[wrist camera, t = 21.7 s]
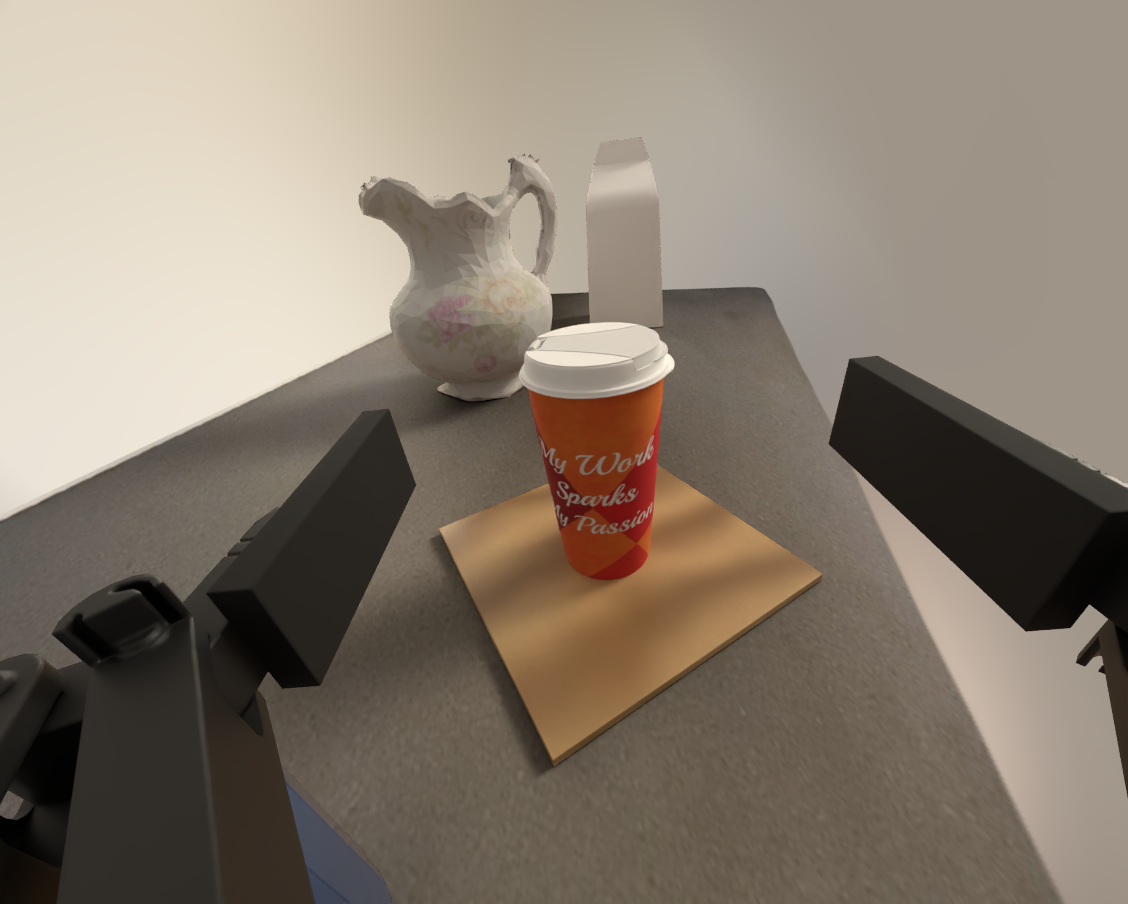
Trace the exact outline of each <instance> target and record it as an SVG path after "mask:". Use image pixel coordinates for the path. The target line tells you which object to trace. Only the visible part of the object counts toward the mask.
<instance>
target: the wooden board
mask: <svg viewBox="0 0 1128 904" xmlns="http://www.w3.org/2000/svg"><path fill="white" fill-rule="evenodd" d="M439 531H440V534H441V536H442V538H443V540H444V542H445V545H446V547H447V549H448V551H449V553H450V555H451V557H452V559H453V561H454V563H455V565H456V567H457V569H458V571H459V573H460V575H461V577H462V579H463V581H464V583H465V585H466V588H467V590H468V592H469V594H470V596H471V598H472V600H473V602H474V604H475V606H476V608H477V610H478V612H479V614H480V616H481V618H482V620H483V622H484V624H485V626H486V629H487V631H488V633H489V635H490V637H491V639H492V641H493V643H494V645H495V647H496V649H497V651H498V653H499V655H500V657H501V659H502V661H503V663H504V665H505V667H506V670H507V672H508V674H509V676H510V678H511V680H512V682H513V684H514V686H515V688H516V690H517V692H518V694H519V696H520V698H521V700H522V702H523V704H524V706H525V708H526V710H527V713H528V715H529V717H530V719H531V721H532V723H533V725H534V727H535V729H536V731H537V733H538V735H539V737H540V739H541V741H542V743H543V745H544V747H545V749H546V751H547V754H548V756H549V758H550V760H551V762H552V764H553V766H556V765H557V764H558V763H560V762H561V761H563V760H564V759H566V758H567V757H569V756H570V755H571V754H573V753H574V752H576V751H577V750H579V749H580V748H581V747H583V746H584V745H586V744H587V743H589V742H590V741H591V740H593V739H594V738H596V737H597V736H599V735H600V734H602V733H603V732H604V731H606V730H607V729H609V728H610V727H612V726H613V725H614V724H616V723H617V722H619V721H620V720H622V719H623V718H624V717H626V716H627V715H629V714H630V713H632V712H633V711H634V710H636V709H637V708H639V707H640V706H642V705H643V704H645V703H646V702H647V701H649V700H650V699H652V698H653V697H655V696H656V695H657V694H659V693H660V692H662V691H663V690H665V689H666V688H667V687H669V686H670V685H672V684H673V683H675V682H676V681H677V680H679V679H680V678H682V677H683V676H685V675H686V674H688V673H689V672H690V671H692V670H693V669H695V668H696V667H698V666H699V665H700V664H702V663H703V662H705V661H706V660H708V659H709V658H710V657H712V656H713V655H715V654H716V653H718V652H719V651H721V650H722V649H723V648H725V647H726V646H728V645H729V644H731V643H732V642H733V641H735V640H736V639H738V638H739V637H741V636H742V635H743V634H745V633H746V632H748V631H749V630H751V629H752V628H753V627H755V626H756V625H758V624H759V623H761V622H762V621H764V620H765V619H766V618H768V617H769V616H771V615H772V614H774V613H775V612H776V611H778V610H779V609H781V608H782V607H784V606H785V605H786V604H788V603H789V602H791V601H792V600H794V599H795V598H796V597H798V596H799V595H801V594H802V593H804V592H805V591H807V590H808V589H809V588H811V587H812V586H814V585H815V584H817V583H818V582H819V581H821V578H822V573H821V572H819V571H817V570H816V569H814V568H813V567H811V566H810V565H808V564H807V563H805V562H804V561H802V560H801V559H799V558H798V557H796V556H795V555H793V554H792V553H790V552H789V551H787V550H786V549H784V548H783V547H781V546H780V545H778V544H777V543H775V542H774V541H772V540H771V539H769V538H768V537H766V536H765V535H763V534H762V533H760V532H759V531H757V530H755V529H754V528H752V527H751V526H749V525H748V524H746V523H745V522H743V521H742V520H740V519H739V518H737V517H736V516H734V515H733V514H731V513H730V512H728V511H727V510H725V509H724V508H722V507H721V506H719V505H718V504H716V503H715V502H713V501H712V500H710V499H709V498H707V497H706V496H704V495H703V494H701V493H700V492H698V491H697V490H695V489H694V488H692V487H690V486H689V485H687V484H686V483H684V482H683V481H681V480H680V479H678V478H677V477H675V476H674V475H672V474H671V473H669V472H668V471H666V470H665V469H663V468H662V467H660V466H659V465H657V473H656V485H655V497H654V509H653V520H652V531H651V540H650V548H649V553H648V557H647V559H646V561H645V563H644V564H643V565H642V567H641V568H639V569H638V570H637V571H636V572H634V573H632V574H631V575H629V576H626V577H623V578H620V579H614V580H599V579H593V578H590V577H587V576H585V575H582V574H581V573H579V572H578V571H576V570H575V569H574V568H573V567H572V566H571V565H570V563H569V561H568V559H567V557H566V554H565V551H564V547H563V543H562V539H561V535H560V531H559V526H558V522H557V518H556V513H555V509H554V504H553V500H552V495H551V491H550V486H549V483H548V484H546V485H543V486H541V487H539V488H536V489H534V490H531V491H529V492H526V493H524V494H522V495H519V496H517V497H514V498H512V499H510V500H507V501H505V502H502V503H500V504H498V505H495V506H493V507H490V508H488V509H485V510H483V511H481V512H478V513H476V514H473V515H471V516H469V517H466V518H464V519H461V520H459V521H456V522H454V523H452V524H449V525H447V526H444V527H442V528H440V529H439Z"/></svg>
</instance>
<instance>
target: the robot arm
mask: <svg viewBox="0 0 1128 904" xmlns="http://www.w3.org/2000/svg"><path fill="white" fill-rule="evenodd" d="M829 445H830V446H831V447H832V448H833V449H835V450H836V451H837V452H838V453H839V454H840V455H841V456H842V457H843V458H844V459H845V460H846V461H847V462H848V463H849V464H850V465H851V466H852V467H853V468H854V469H856V470H857V471H858V472H859V473H860V474H861V475H862V476H863V477H864V478H865V479H866V480H867V481H868V482H869V483H870V484H871V485H872V486H874V488H875V489H877V490H878V491H879V492H880V493H881V494H882V495H883V496H884V497H885V498H886V499H887V500H888V501H889V502H890V503H891V504H892V505H893V506H895V507H896V508H897V509H898V510H899V511H900V512H901V513H902V514H903V515H904V516H905V517H906V518H907V519H908V520H909V521H910V522H911V523H912V524H914V526H915V527H917V528H918V529H919V530H920V531H921V532H922V533H923V534H924V535H925V536H926V537H927V538H928V539H929V540H930V541H931V542H932V543H933V544H934V545H935V546H936V547H937V548H939V549H940V550H941V551H942V552H943V553H944V554H945V555H946V556H947V557H948V558H949V559H950V560H951V561H952V562H953V563H954V564H956V565H957V567H958V568H960V569H961V570H962V571H963V572H964V573H965V574H966V575H967V576H968V577H969V578H970V579H971V580H972V581H973V582H974V583H975V584H976V585H977V586H979V588H981V589H982V590H983V591H984V592H985V593H986V594H987V595H988V596H989V597H990V598H991V599H992V600H993V601H994V602H995V603H996V604H997V605H999V607H1001V608H1002V609H1003V610H1004V611H1005V612H1006V613H1007V614H1008V615H1009V616H1010V617H1011V618H1012V619H1013V620H1014V621H1015V622H1016V623H1017V624H1018V625H1019V626H1020V627H1022V628H1023V629H1024V630H1025V631H1038V630H1051V629H1064V628H1071V627H1072V625H1073V624H1074V623H1075V621H1076V620H1077V619H1078V618H1079V617H1080V615H1081V614H1082V613H1083V612H1084V610H1085V609H1086V608H1087V606H1088V605H1089V604H1090V605H1091V606H1092V607H1094V608H1095V609H1096V610H1098V611H1099V612H1100V613H1102V614H1103V615H1104V616H1105V617H1107V618H1108V620H1107V621H1106V623H1105V624H1104V625H1103V626H1102V627H1101V628H1100V630H1099V631H1098V632H1097V633H1096V634H1095V636H1094V637H1093V638H1092V639H1091V640H1090V641H1089V643H1088V644H1087V645H1086V646H1085V647H1084V649H1083V650H1082V651H1081V652H1080V653H1079V655H1078V657H1077V661H1076V663H1078V664H1080V665H1083V666H1086V665H1087V664H1088V663H1089V661H1090V660H1091V659H1092V658H1093V657H1096V656H1102V658H1103V664H1104V665H1103V666H1102V667H1101V668H1100V669H1099V672H1101V673H1104V674H1105V675H1106V680H1107V686H1108V691H1109V697H1110V702H1111V708H1112V713H1113V719H1114V724H1115V730H1116V735H1117V741H1118V746H1119V752H1120V757H1121V763H1122V768H1123V774H1124V779H1125V785H1126V790H1127V796H1128V484H1126V483H1124V482H1122V481H1120V480H1118V479H1116V478H1114V477H1112V476H1110V475H1109V474H1107V473H1105V474H1101V472H1100V470H1099V469H1097V468H1095V467H1093V466H1091V465H1089V464H1088V463H1086V462H1084V461H1078V460H1077V459H1078V458H1076V457H1074V456H1072V455H1070V454H1068V453H1067V452H1065V451H1063V450H1061V449H1059V448H1057V447H1055V446H1053V445H1051V444H1049V443H1045V442H1043V441H1040V440H1037V439H1034V438H1032V437H1030V436H1028V435H1026V434H1024V433H1023V432H1021V431H1019V430H1017V429H1015V428H1013V427H1011V426H1009V425H1007V424H1005V423H1004V422H1002V421H1000V420H997V419H996V418H994V417H992V416H990V415H989V414H987V413H985V412H983V411H981V410H979V409H977V408H975V407H973V406H972V405H970V404H968V403H966V402H964V401H962V400H960V399H958V398H956V397H954V396H953V395H951V394H949V393H947V392H945V391H943V390H941V389H939V388H938V387H936V386H934V385H932V384H930V383H928V382H926V381H924V380H922V379H921V378H918V377H917V376H915V375H913V374H911V373H909V372H907V371H905V370H904V369H902V368H900V367H898V366H896V365H894V364H892V363H890V362H888V361H887V360H885V359H883V358H881V357H879V356H872V357H864V358H853V359H849V363H848V367H847V371H846V375H845V379H844V383H843V387H842V392H841V395H840V400H839V404H838V408H837V412H836V416H835V420H834V424H833V428H832V432H831V436H830V441H829ZM415 486H416V483H415V481H414V478H413V475H412V472H411V470H410V467H409V464H408V461H407V458H406V456H405V453H404V450H403V447H402V445H401V442H400V439H399V436H398V433H397V431H396V428H395V425H394V422H393V420H392V417H391V414H390V411H389V409H383V410H374V411H364V412H362V414H361V415H360V416H359V417H358V418H357V419H356V421H355V422H354V423H353V424H352V425H351V426H350V427H349V429H348V430H347V431H346V432H345V433H344V434H343V436H342V437H341V438H340V439H339V440H338V441H337V442H336V444H335V445H334V446H333V447H332V448H331V449H330V451H329V452H328V453H327V454H326V455H325V456H324V457H323V459H322V460H321V461H320V462H319V463H318V464H317V466H316V467H315V468H314V469H313V470H312V471H311V472H310V474H309V475H308V476H307V477H306V478H305V479H304V480H303V482H302V483H301V484H300V485H299V486H298V487H297V489H296V490H295V491H294V492H293V493H292V494H291V495H290V497H289V498H288V499H287V500H286V501H285V502H284V504H283V505H282V506H281V507H276V508H275V509H274V510H272V511H271V512H269V513H268V514H266V515H265V516H264V517H262V518H261V519H259V520H258V521H257V522H255V523H254V524H253V526H252V527H251V528H250V529H249V530H248V531H247V532H246V533H245V534H244V535H243V537H242V538H241V539H240V543H236V544H235V545H234V547H233V548H232V549H231V550H230V551H229V552H228V553H227V554H228V556H227V557H224V558H223V559H222V560H221V561H220V562H219V563H218V564H217V565H216V567H215V568H214V569H213V570H212V571H211V572H210V573H209V574H208V575H207V576H206V578H205V579H204V580H203V581H202V582H201V583H200V584H199V585H198V586H197V588H196V589H195V590H194V591H193V592H192V593H191V594H190V595H189V596H188V598H187V599H186V600H185V601H184V602H183V603H182V601H181V600H180V599H179V598H178V597H177V596H176V594H175V593H174V592H173V591H172V590H171V589H170V587H169V586H168V585H167V584H166V583H165V582H164V581H163V579H162V578H161V577H160V576H159V575H153V574H143V575H137V576H132V577H129V578H126V579H124V580H121V581H118V582H115V583H113V584H111V585H109V586H107V587H105V588H103V589H101V590H99V591H97V592H96V593H94V594H92V595H90V596H89V597H88V598H86V599H85V600H83V601H82V602H80V603H79V604H78V605H76V606H75V607H73V608H72V609H71V610H70V611H69V612H68V613H67V614H66V615H65V616H64V617H63V618H62V619H61V620H60V621H59V622H58V624H57V625H56V627H55V629H54V631H53V632H52V635H53V636H54V637H56V638H57V639H58V640H59V641H60V642H61V643H63V644H64V645H65V646H66V647H67V648H68V649H70V650H71V651H72V652H73V653H74V654H75V655H77V656H78V657H79V658H80V659H81V660H82V662H79V663H76V664H73V665H70V666H67V667H64V668H61V669H58V670H57V669H55V668H54V667H53V666H52V665H50V664H49V663H48V662H47V661H45V660H44V659H43V658H42V657H40V656H39V655H38V654H22V655H19V656H15V657H11V658H8V659H5V660H3V661H1V662H0V804H1V802H2V800H3V798H4V796H5V794H6V792H7V791H8V790H9V791H10V792H12V793H14V794H16V795H17V796H19V797H21V798H23V799H24V801H23V803H22V805H21V807H20V809H19V811H18V812H17V814H16V815H15V816H14V818H13V819H6V818H4V817H2V816H0V904H315V900H314V896H313V892H312V888H311V884H310V880H309V876H308V872H307V868H306V863H305V859H304V855H303V851H302V847H301V843H300V839H299V835H298V831H297V827H296V823H295V819H294V815H293V811H292V807H291V803H290V799H289V795H288V790H287V786H286V782H285V778H284V774H283V770H282V766H281V762H280V758H279V754H278V750H277V746H276V742H275V738H274V734H273V730H272V726H271V721H270V717H269V713H268V709H267V705H266V701H265V699H264V697H263V696H262V695H261V693H260V692H259V691H258V690H257V689H258V687H259V685H260V684H261V682H262V680H263V679H264V677H265V675H266V674H267V672H268V671H269V673H270V674H271V675H272V676H273V678H274V679H275V680H276V681H277V683H278V684H279V685H280V686H281V687H282V689H284V688H297V687H310V686H320V685H321V683H322V681H323V679H324V677H325V675H326V673H327V670H328V668H329V666H330V664H331V662H332V660H333V658H334V656H335V654H336V652H337V650H338V647H339V645H340V643H341V641H342V639H343V637H344V635H345V633H346V631H347V629H348V626H349V624H350V622H351V620H352V618H353V616H354V614H355V612H356V610H357V608H358V606H359V603H360V601H361V599H362V597H363V595H364V593H365V591H366V589H367V587H368V585H369V582H370V580H371V578H372V576H373V574H374V572H375V570H376V568H377V566H378V564H379V561H380V559H381V557H382V555H383V553H384V551H385V549H386V547H387V545H388V543H389V541H390V538H391V536H392V534H393V532H394V530H395V528H396V526H397V524H398V522H399V520H400V517H401V515H402V513H403V511H404V509H405V507H406V505H407V503H408V501H409V499H410V497H411V494H412V492H413V490H414V488H415Z"/></svg>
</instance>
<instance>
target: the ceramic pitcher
mask: <svg viewBox="0 0 1128 904" xmlns="http://www.w3.org/2000/svg"><path fill="white" fill-rule="evenodd" d="M532 158H533V157H532V156H531V155H529V156H528V157H526V156H525V154H524V155H522V156H519V157H517V158H516V156H514V157H513V158H511V159H509V160H508V162H509V163H510V162H511V172H510V175H509V178H508V182H507V185H506V186H505V188H504V190H503V192H502V194H499V195H496V196H490V197H486V198H482V199H480V198H478V197H476V196H475V195H473V194H470V193H468V192H463V193H460V194H457V195H456V196H454V197H453V198H451V199H449V198H447V197H443V196H439V195H437V196H434V197H430V198H426V197H425V196H424V195H423V194H422V193H421V192H420V191H419V190H417V189H416V188H415V187H414V186H412V185H410V184H409V183H407V182H402V181H398V180H395V179H392V178H390V177H389V178H385V179H381V178H378V177H374V176H373V177H371V181H370V182H369V183H368V184H367V183H364V185H363V186H361V187H363V189H362V192H361V193H360V195H359V205H360V208H361V211H362V213H363V214H364V215H366V216H370V217H373V218H376V219H379V220H382V221H384V222H385V223H386V224H387V225H388V226H389V227H391V228H392V229H393V230H394V231H395V232H396V233H398V235H399V236H400V238H401V239H402V241H403V242H404V243H405V244H406V246H407V247H408V251H409V256H410V261H411V270H410V276H409V278H408V281H407V283H406V284H405V285H404V287H403V288H402V289H401V291H400V292H399V294H398V295H397V297H396V298H395V299H394V301H393V303H392V304H391V307H390V326H391V329H392V332H393V335H394V337H395V339H396V342H397V344H398V346H399V348H400V349H401V351H402V352H403V354H404V355H405V356H406V357H407V358H408V359H409V360H410V361H411V362H412V363H413V364H414V365H415V366H416V367H417V368H418V369H420V370H421V371H422V372H423V373H424V374H426V375H428V376H430V377H433V378H435V379H438V380H442V381H444V382H446V383H444V384H442V385H441V386H439V387H437V390H438V391H440V392H442V393H445V394H448V395H451V396H454V397H456V398H459V399H462V400H466V401H483V400H489V399H495V398H504V397H510V396H511V395H512V394H513V393H515V392H516V391H518V390H519V389H520V388H522V387H523V386H524V385H523V384H522V383H521V381H520V378H519V373H520V370H521V367H522V366H523V364H524V354H525V353H526V351H527V349H528V348H529V346H530V345H531V344H532V343H533V342H534V341H535V340H536V339H537V337H538V336H540V335H542V334H545V333H548V332H550V329H551V323H552V298H551V295H550V293H549V286H548V282H547V279H546V271H547V268H548V265H549V263H550V261H551V258H552V255H553V249H554V240H555V236H556V229H557V206H556V201H555V197H554V192H553V189H552V185H551V183H550V180H549V179H548V178H547V176H546V175H545V174H544V172H543V171H542V170H541V169H540V168H539V166H538V164H537V163H538V159H537V160H534V158H533V159H532ZM529 192H532V193H533V194H534V195H535V197H536V199H537V201H538V206H539V211H540V218H541V231H540V234H539V238H538V243H537V248H536V256H535V264H534V268H533V272H531V273H530V272H528V271H527V270H525V269H524V268H523V267H522V266H521V265H520V264H519V263H518V261H517V260H516V259H515V258H514V257H513V254H512V251H511V248H510V244H509V225H510V216H511V212H512V209H513V208H514V207H515V205H516V204H517V202H518V201H519V199H520V198H521V197H522V196H523V195H524V194H526V193H529Z"/></svg>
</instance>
